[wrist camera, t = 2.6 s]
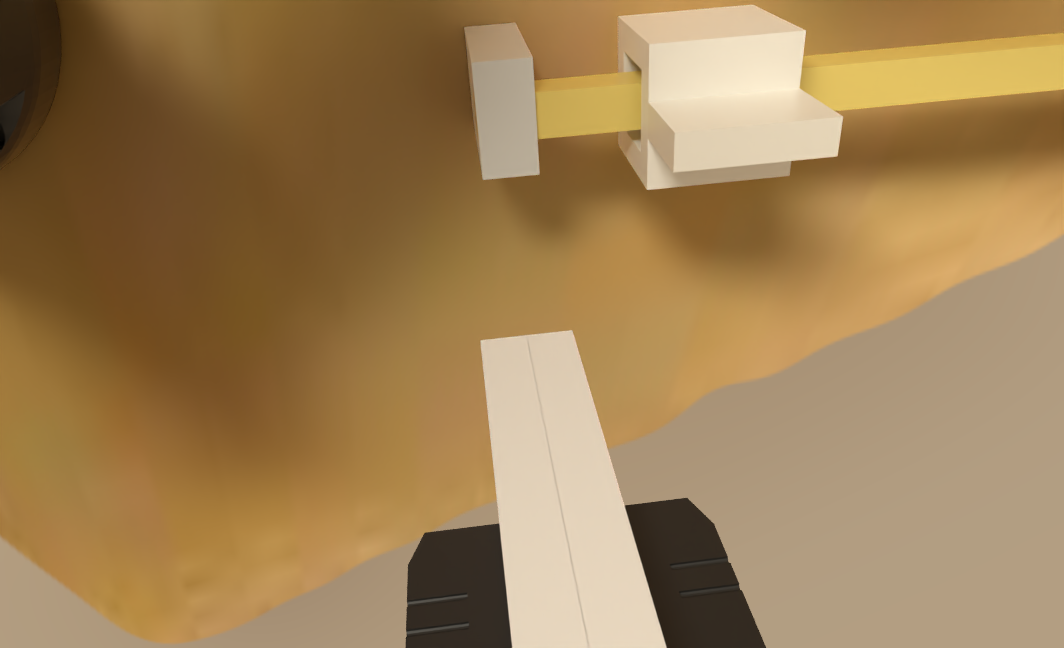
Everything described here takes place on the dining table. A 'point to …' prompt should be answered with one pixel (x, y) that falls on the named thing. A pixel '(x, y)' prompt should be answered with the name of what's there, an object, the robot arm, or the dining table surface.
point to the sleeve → (720, 97)
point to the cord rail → (833, 79)
